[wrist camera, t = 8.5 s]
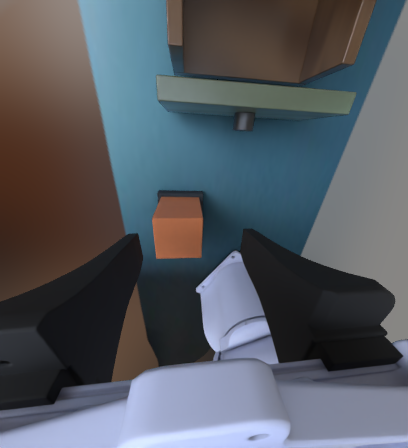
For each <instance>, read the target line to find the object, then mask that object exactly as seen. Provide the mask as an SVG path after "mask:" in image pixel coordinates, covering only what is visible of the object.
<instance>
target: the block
mask: <svg viewBox="0 0 408 448" xmlns="http://www.w3.org/2000/svg"><path fill="white" fill-rule="evenodd" d="M152 222H153V231H154V240H155V250H156V258H157V259H159V258H201V252H202V232H203V215H202V210H201V205H200V200H199V197H161V198H160V201H159V203H158V206H157V208H156V210H155V213H154V215H153V218H152Z"/></svg>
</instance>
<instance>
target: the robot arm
mask: <svg viewBox="0 0 408 448" xmlns="http://www.w3.org/2000/svg"><path fill="white" fill-rule="evenodd" d="M232 256H233V257H232ZM142 261H143V255H142V250H141V245H140V240H139V236H138V234H128V235H126V236H125V237H123V238H122V239H121V240H119V241H118V242H116V243H115V244H114V245H112V246H111V247H110V248H108V249H107V250H105V251H104V252H103V253H101V254H100V255H98V256H97V257H95V258H94V259H92V260H91V261H89V262H87V263H86V264H84V265H82V266H80V267H79V268H77V269H75V270H73V271H71V272H69V273H67V274H65V275H63V276H61V277H59V278H57V279H55V280H53V281H51V282H49V283H47V284H45V285H42V286H40V287H38V288H35V289H33V290H30V291H28V292H25V293H23V294H21V295H18V296H15V297H12V298H9V299H7V300H4V301H1V302H0V448H408V339H405V340H399V341H395V342H393V343H391V342H390V341H389V340H388V339H386V337H385V336H386V335H387V331H386V330H385V329H384V328H383V327H381V325H380V324H381V322H382V321H383V320H384V319H385V318H386V316H387V315H388V314H389V313H390V312H391V310H392V309H393V307H394V304H395V297H394V295H393V294H392V293H391V292H390V291H388V290H387V289H386V288H384V287H383V286H382V285H381V284H379V283H378V282H377V281H375V280H373V279H369V278H365V277H361V276H357V275H353V274H349V273H346V272H342V271H339V270H336V269H333V268H330V267H327V266H324V265H321V264H318V263H316V262H313V261H311V260H308V259H306V258H303V257H301V256H299V255H297V254H295V253H293V252H291V251H289V250H287V249H285V248H283V247H281V246H280V245H278V244H276V243H275V242H273V241H271V240H270V239H268V238H266V237H265V236H263V235H262V234H260V233H259V232H257V231H255V230H254V229H243V235H242V243H241V250H240V252H238V251H233V252H232V253H231V254H230V255H229V256H228V257H227V258H226V259H225V260H224V261H223V262H222V263H221V264H220V265H219V266H218V267H217V268H216V269H215V270H214V271H213V272H212V273H211V274H210V275H209V276H208V277H207V278H206V279H205V280H204V281H203V282H202V283H201V284H200V285H199V286H198V287H197V288H196V291H197V292H198V293H200V294H201V305H202V316H203V327H204V332H205V336H206V338H207V340H208V342H209V344H210V346H211V347H212V348H213V350H215V351H216V353H215V355H214V359H213V361H207V362H197V363H188V364H178V365H169V366H161V367H157V368H153V369H149V370H146V371H144V372H143V373H141V374H140V375H138V376H137V377H136V378H135V379H133V380H126V381H117V382H111V380H112V374H113V369H114V364H115V358H116V354H117V348H118V344H119V340H120V335H121V331H122V327H123V322H124V318H125V314H126V310H127V306H128V304H129V300H130V298H131V295H132V293H133V290H134V287H135V284H136V282H137V279H138V276H139V273H140V270H141V266H142Z"/></svg>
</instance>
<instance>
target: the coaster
mask: <svg viewBox="0 0 408 448" xmlns="http://www.w3.org/2000/svg"><path fill="white" fill-rule="evenodd" d="M157 194H158V203H159V201H160V198H161V197H199V200H200V205H201V210H202V208H203V192H202V191H167V190H159V191H158V193H157Z"/></svg>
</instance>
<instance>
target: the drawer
mask: <svg viewBox="0 0 408 448" xmlns="http://www.w3.org/2000/svg"><path fill="white" fill-rule="evenodd" d="M375 3H376V0H166V8H167V35H168V47H169V52H170V56H171V61H172V66H173V71H174V75H181V76H192V77H203V78H214V79H226V80H237V81H248V82H259V83H270V84H281V85H292V86H303V85H306V84H308V83H310V82H313V81H315V80H317V79H320V78H322V77H325V76H327V75H329V74H332V73H334V72H337V71H339V70H341V69H344V68H346V67H349V66H351V65H353V64H354V63H355V60H356V57H357V54H358V51H359V49H360V46H361V43H362V40H363V37H364V34H365V32H366V29H367V26H368V23H369V20H370V17H371V14H372V12H373V9H374V6H375ZM156 82H157V97H158V101H159V102H160V103H161V104H162V106H163V107H164V108H165V109H166V110H167V111H168V112H178V113H193V114H208V115H222V116H234V122H233V130H235V131H253V126H254V120H255V118H267V119H282V120H297V121H298V120H307V119H315V118H324V117H332V116H341V115H348V114H349V112H350V109H351V107H352V104H353V101H354V99H355V96H356V92H347V91H335V90H324V89H313V88H302V87H290V86H279V85H268V84H257V83H245V82H234V81H223V80H212V79H201V78H189V77H178V76H167V75H156Z"/></svg>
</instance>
